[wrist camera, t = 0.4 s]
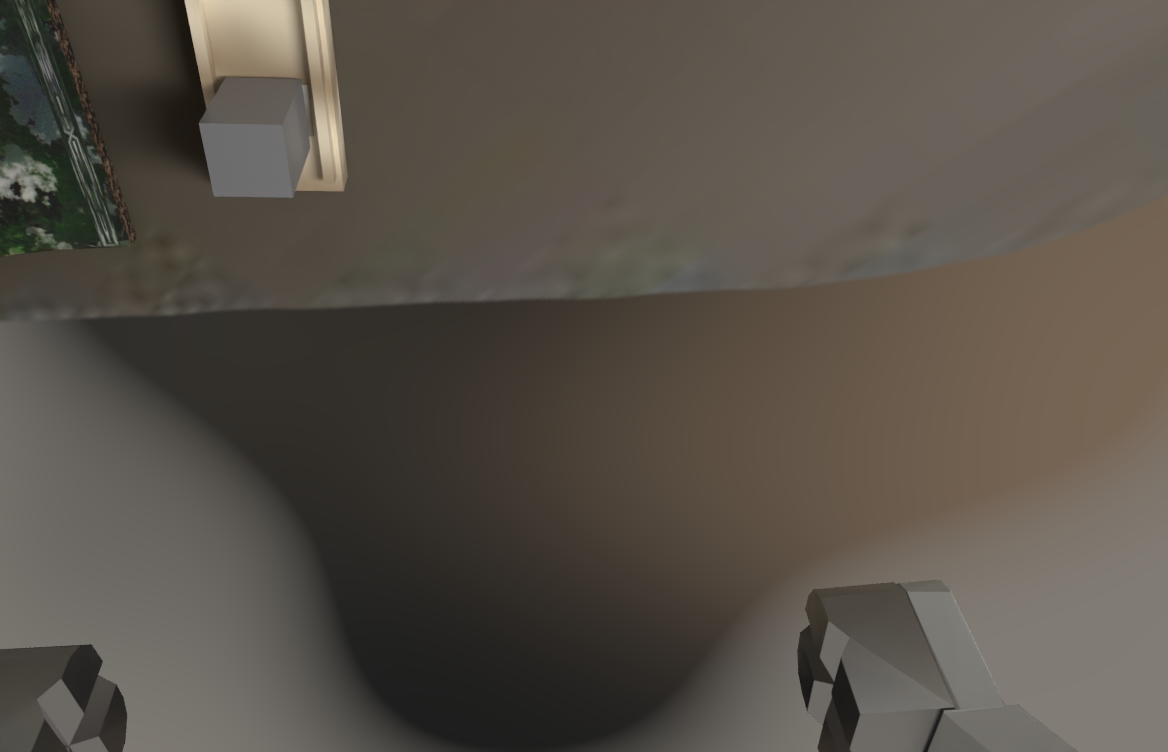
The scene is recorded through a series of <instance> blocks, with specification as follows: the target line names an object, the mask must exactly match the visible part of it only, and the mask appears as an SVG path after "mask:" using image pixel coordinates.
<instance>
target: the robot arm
mask: <svg viewBox="0 0 1168 752" xmlns="http://www.w3.org/2000/svg"><path fill="white" fill-rule="evenodd" d="M805 611H806V613H807V617H808V620H809V623H810V625H809V626H808V627H806V628H805V629H804V630H803V631H802V632H800V637H799V643H798V649H797V655H798V675H799V680H800V685H801V690H802V695H803V698H804V702H805V706H806V709H807V712H808V713H809V714H810V715H812V717H813V718H815V719H816V720H817V721H818V722H819V723H820V724H821V725H822V726H823V727H822V731H821V735H820V739H819V744H818V751H819V752H1078V751H1077V750H1076V749H1074V748H1073V747H1072V746H1071V745H1069V744H1068V743H1067V742H1065V741H1064V740H1063V739H1062V738H1060V737H1059V736H1058V735H1057V734H1055V733H1054V732H1053V731H1051V730H1050V729H1049V728H1048V727H1046V726H1045V725H1044V724H1043V723H1041V722H1040V721H1039V720H1037V719H1036V718H1035V717H1034V716H1032V715H1031V714H1030V713H1028V712H1027V711H1026V710H1025V709H1023V708H1022V707H1021V706H1020V705H1005V703H1004V701H1003V699H1002V696H1001V694H1000V692H999V690H998V688H997V686H996V684H995V682H994V680H993V678H992V676H991V674H990V672H989V669H988V667H987V665H986V663H985V661H984V659H983V657H982V655H981V653H980V651H979V649H978V647H977V645H976V643H975V640H974V638H973V636H972V634H971V632H970V630H969V628H968V626H967V624H966V622H965V620H964V617H963V616H962V613H961V611H960V609H959V607H958V605H957V603H956V601H955V599H954V597H953V595H952V593H951V590H950V589H949V587H948V586H947V585H946V584H944V582H942V581H940V580H930V581H919V582H908V583H898V584H895V583H894V582H892V583H881V584H869V585H858V586H847V587H835V588H825V589H813V590H812V591H811V592H810V594H809V595H808V599H807V603H806V607H805ZM102 663H103V660H102V659H101V657H100V656H99V654H98V653H97V651H96V650H95V648H94V647H93V645H92V644H88V645H70V646H52V647H33V648H16V649H0V752H122V751H123V748H124V744H125V739H126V725H127V711H126V707H125V702H124V697H123V695H122V694H121V692H120V690H119V688H118V686H117V685H116V684H114V683H112V682H111V681H109V680H107V679H105V678H103V677H101V676H99V675H98V674H99V671H100V669H101V666H102Z"/></svg>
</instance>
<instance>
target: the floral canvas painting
mask: <svg viewBox="0 0 1168 752" xmlns="http://www.w3.org/2000/svg"><path fill="white" fill-rule="evenodd" d="M136 238H137V237H136V234H135V231H134V228H133V225H132V222H131V219H130V216H129V213H128V210H127V207H126V205H125V202H124V199H123V196H122V193H121V190H120V187H119V184H118V181H117V178H116V175H115V173H114V170H113V167H112V164H111V161H110V158H109V155H108V152H107V149H106V146H105V143H104V141H103V138H102V135H101V132H100V129H99V126H98V123H97V120H96V117H95V114H94V111H93V109H92V106H91V103H90V100H89V97H88V94H87V91H86V88H85V85H84V82H83V79H82V77H81V74H80V71H79V68H78V65H77V62H76V59H75V56H74V53H73V50H72V47H71V45H70V42H69V39H68V36H67V33H66V30H65V27H64V24H63V21H62V18H61V15H60V13H59V10H58V7H57V4H56V1H55V0H0V257H3V256H9V255H15V254H20V253H33V252H40V251H49V250H64V249H84V248H108V247H128V246H132V245H133V243H134V241H135V240H136Z"/></svg>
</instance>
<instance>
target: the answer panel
mask: <svg viewBox="0 0 1168 752" xmlns="http://www.w3.org/2000/svg"><path fill="white" fill-rule="evenodd" d="M185 5H186V10H187V15H188V20H189V25H190V30H191V35H192V40H193V45H194V50H195V55H196V60H197V65H198V70H199V75H200V80H201V85H202V90H203V95H204V100H205V105H206V110H207V108H208V106H209V105H210V103H211V101H212V100H213V98H214V96H215V95H216V93H217V91H218V89H219V88H220V86H221V84H222V83H223V81H224V79H225V78H226V77H236V78H274V79H301V81H302V88H303V96H304V103H305V111H306V118H307V126H308V133H309V141H310V150H309V153H308V156H307V159H306V162H305V165H304V167H303V170H302V173H301V176H300V179H299V182H298V185H297V188H296V190H295V191H344V188H345V184H346V180H347V176H348V175H347V166H346V156H345V147H344V138H343V129H342V120H341V111H340V101H339V92H338V83H337V74H336V65H335V55H334V46H333V37H332V28H331V19H330V9H329V0H185Z"/></svg>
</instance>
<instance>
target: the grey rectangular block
mask: <svg viewBox="0 0 1168 752" xmlns="http://www.w3.org/2000/svg"><path fill="white" fill-rule="evenodd" d="M199 127H200V132H201V137H202V141H203V146H204V151H205V156H206V161H207V165H208V170H209V175H210V180H211V184H212V189H213V194H214V196H224V197H290V198H293V196H294V193H295V190H296V188H297V185H298V182H299V179H300V176H301V173H302V170H303V167H304V165H305V162H306V159H307V156H308V153H309V150H310V141H309V133H308V126H307V118H306V111H305V103H304V96H303V88H302V81H301V79H274V78H236V77H226V78H225V79H224V81H223V83H222V84H221V86H220V88H219V89H218V91H217V93H216V95H215V96H214V98H213V100H212V101H211V103H210V105H209V106H208V108H207V110H206V112H205V113H204V115H203V117H202V118H201V120H200V122H199Z"/></svg>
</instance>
